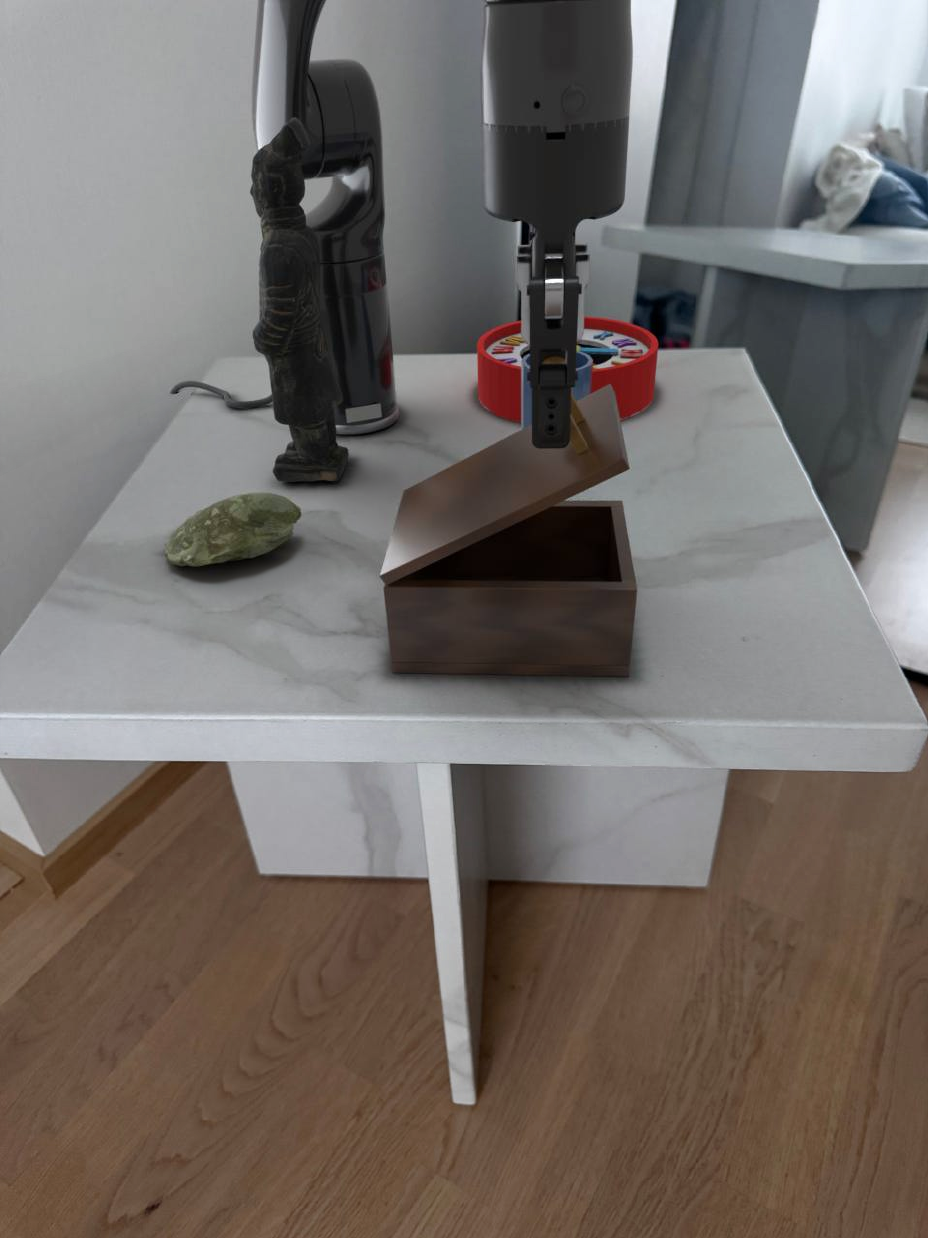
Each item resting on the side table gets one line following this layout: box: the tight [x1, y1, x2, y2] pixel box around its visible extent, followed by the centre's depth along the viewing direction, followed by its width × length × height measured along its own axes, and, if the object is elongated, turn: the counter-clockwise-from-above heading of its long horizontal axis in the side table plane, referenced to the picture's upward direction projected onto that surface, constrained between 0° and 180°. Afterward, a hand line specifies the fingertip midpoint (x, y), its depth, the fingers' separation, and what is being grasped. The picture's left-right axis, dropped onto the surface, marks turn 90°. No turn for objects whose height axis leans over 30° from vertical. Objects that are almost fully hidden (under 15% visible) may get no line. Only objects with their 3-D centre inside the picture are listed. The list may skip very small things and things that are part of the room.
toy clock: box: [476, 315, 659, 424], centre depth 97 cm, size 20×6×20 cm
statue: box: [249, 117, 350, 483], centre depth 76 cm, size 10×7×30 cm
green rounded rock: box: [164, 491, 302, 567], centre depth 72 cm, size 10×7×10 cm
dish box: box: [382, 500, 638, 677], centre depth 60 cm, size 16×12×7 cm
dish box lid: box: [379, 356, 630, 585], centre depth 55 cm, size 17×12×5 cm
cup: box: [520, 351, 593, 430], centre depth 82 cm, size 6×6×10 cm
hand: (550, 424), depth 53 cm, fingers closed on dish box lid, 5 cm apart
